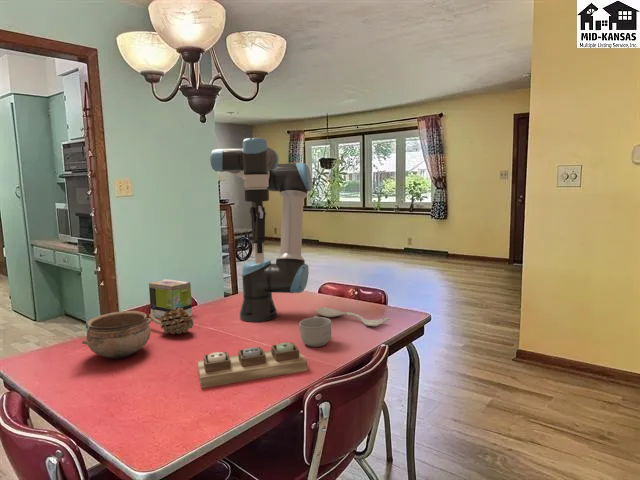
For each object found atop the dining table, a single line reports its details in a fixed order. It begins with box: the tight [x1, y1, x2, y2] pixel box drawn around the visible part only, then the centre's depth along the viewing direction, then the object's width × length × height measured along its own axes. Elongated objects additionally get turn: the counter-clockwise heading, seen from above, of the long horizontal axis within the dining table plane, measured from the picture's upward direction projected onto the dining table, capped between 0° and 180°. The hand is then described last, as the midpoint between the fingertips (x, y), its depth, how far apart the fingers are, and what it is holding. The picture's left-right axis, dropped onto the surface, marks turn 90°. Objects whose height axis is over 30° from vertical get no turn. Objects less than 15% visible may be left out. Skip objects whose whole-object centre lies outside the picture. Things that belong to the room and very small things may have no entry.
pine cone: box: [148, 308, 195, 335], centre depth 163 cm, size 22×10×10 cm, turn 67°
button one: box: [276, 342, 293, 353], centre depth 131 cm, size 5×5×3 cm
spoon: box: [316, 307, 390, 327], centre depth 174 cm, size 9×32×4 cm, turn 49°
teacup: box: [298, 315, 332, 348], centre depth 150 cm, size 14×11×8 cm
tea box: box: [148, 278, 193, 319], centre depth 184 cm, size 15×10×15 cm, turn 58°
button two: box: [207, 351, 226, 363], centre depth 125 cm, size 5×5×3 cm
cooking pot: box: [81, 310, 152, 360], centre depth 142 cm, size 25×19×12 cm
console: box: [197, 342, 308, 389], centre depth 128 cm, size 12×30×6 cm, turn 109°
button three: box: [242, 346, 260, 358], centre depth 128 cm, size 5×5×3 cm
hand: (259, 262), depth 140 cm, fingers closed
